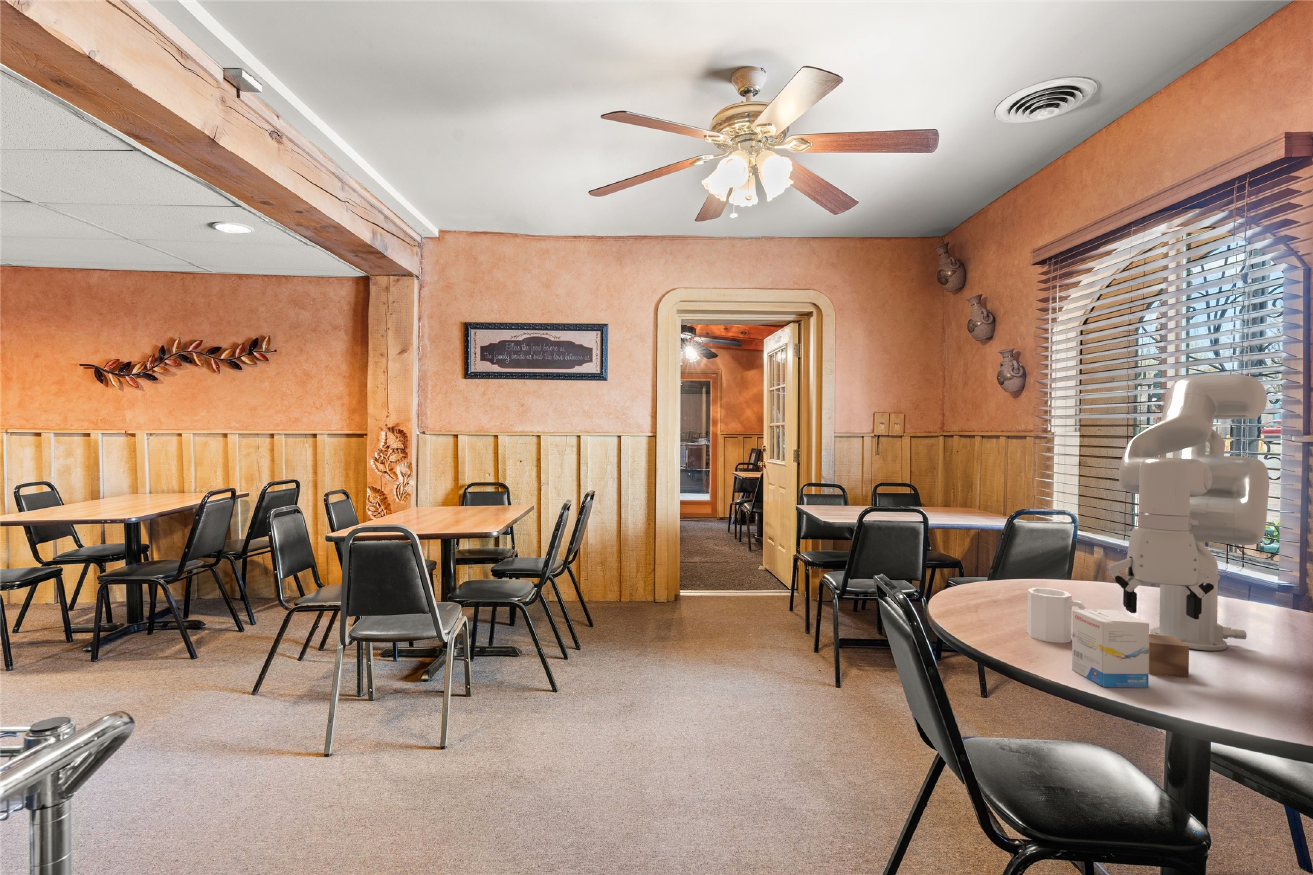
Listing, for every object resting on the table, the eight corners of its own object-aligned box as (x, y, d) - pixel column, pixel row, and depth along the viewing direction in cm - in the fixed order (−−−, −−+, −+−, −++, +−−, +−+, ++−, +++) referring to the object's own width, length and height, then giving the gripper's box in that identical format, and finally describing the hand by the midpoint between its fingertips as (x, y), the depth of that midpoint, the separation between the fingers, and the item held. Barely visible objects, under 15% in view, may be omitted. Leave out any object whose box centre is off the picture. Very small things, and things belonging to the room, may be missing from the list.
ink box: (1150, 688, 110) (1151, 622, 110) (1102, 687, 110) (1103, 621, 110) (1115, 670, 118) (1116, 608, 118) (1070, 669, 118) (1071, 607, 118)
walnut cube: (1173, 667, 120) (1173, 636, 120) (1188, 679, 114) (1189, 646, 114) (1136, 663, 122) (1136, 632, 122) (1149, 674, 116) (1149, 642, 116)
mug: (1024, 637, 137) (1025, 593, 137) (1029, 628, 144) (1030, 585, 144) (1091, 649, 129) (1091, 602, 129) (1093, 639, 136) (1093, 594, 136)
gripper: (1208, 524, 119) (1207, 615, 118) (1102, 518, 124) (1100, 604, 124) (1231, 529, 112) (1229, 625, 111) (1117, 522, 117) (1114, 614, 117)
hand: (1161, 614), depth 118 cm, fingers open, 9 cm apart
